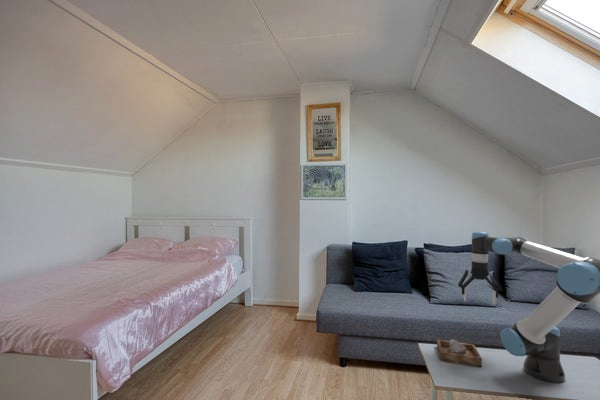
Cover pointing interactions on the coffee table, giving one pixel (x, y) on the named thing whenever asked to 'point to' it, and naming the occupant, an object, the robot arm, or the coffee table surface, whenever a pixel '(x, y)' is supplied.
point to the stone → (456, 347)
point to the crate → (468, 359)
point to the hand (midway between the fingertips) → (479, 302)
